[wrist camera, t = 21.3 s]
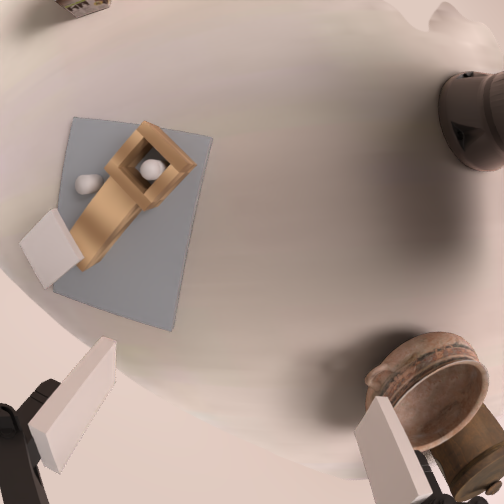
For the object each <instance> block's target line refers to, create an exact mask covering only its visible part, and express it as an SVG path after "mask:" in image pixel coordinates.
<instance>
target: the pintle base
mask: <svg viewBox="0 0 504 504" xmlns="http://www.w3.org/2000/svg"><path fill="white" fill-rule="evenodd" d="M139 126H140V125H139V124H132V123H124V122H116V121H108V120H99V119H89V118H78V117H74V118H73V122H72V126H71V131H70V135H69V140H68V145H67V150H66V155H65V161H64V166H63V172H62V179H61V185H60V193H59V201H58V209H57V208H54V209H50V210H49V211H48V212H47V213H46V215H45V216H44V217H43V218H42V219H41V220H40V221H39V222H38V223H37V224H36V225H35V226H34V227H33V228H32V229H31V230H30V231H29V232H28V233H27V234H26V236H25V237H24V238H23V239H22V240H21V241H20V242H19V245H20V247H21V248H22V250H23V252H24V254H25V256H26V258H27V260H28V262H29V263H30V265H31V267H32V269H33V270H34V272H35V274H36V276H37V277H38V279H39V281H40V282H41V284H42V286H43V287H44V289H47V288H48V287H50V286H51V285H52V284H53V292H55V293H58V294H60V295H63V296H65V297H68V298H71V299H73V300H76V301H79V302H81V303H84V304H87V305H90V306H92V307H95V308H98V309H101V310H104V311H107V312H110V313H113V314H116V315H119V316H122V317H125V318H128V319H131V320H134V321H137V322H140V323H144V324H147V325H150V326H153V327H157V328H160V329H164V330H167V331H172V329H173V328H174V323H175V317H176V311H177V305H178V299H179V294H180V288H181V282H182V277H183V272H184V266H185V261H186V256H187V251H188V246H189V241H190V236H191V231H192V226H193V222H194V217H195V212H196V208H197V203H198V199H199V194H200V190H201V186H202V181H203V177H204V173H205V169H206V164H207V160H208V156H209V152H210V148H211V144H212V140H213V138H212V137H208V136H203V135H198V134H193V133H188V132H182V131H177V130H171V129H165V128H160V129H161V130H162V131H164V132H165V133H166V134H167V135H168V136H169V137H170V138H171V139H172V140H173V141H174V142H175V143H176V144H177V145H178V146H179V147H180V148H181V149H182V150H183V151H184V152H185V153H186V154H187V155H188V156H189V157H190V158H191V159H192V160H193V161H194V162H195V163H196V164H197V166H196V167H195V168H194V169H193V170H192V171H191V172H190V173H189V174H188V175H187V176H186V177H185V178H184V179H183V180H182V181H181V182H180V183H179V184H178V186H177V187H176V188H175V189H174V190H173V191H172V192H171V193H170V194H169V195H168V196H167V197H166V198H165V200H164V201H163V202H162V203H161V204H160V205H159V206H158V207H155V208H152V209H149V210H146V211H143V210H142V211H141V212H140V213H139V214H138V215H137V217H136V218H135V219H134V220H133V221H132V223H131V224H130V225H129V226H128V227H127V229H126V230H125V231H124V232H123V233H122V235H121V236H120V237H119V238H118V240H117V241H116V242H115V243H114V245H113V246H112V247H111V248H110V250H109V251H108V252H107V253H106V255H105V256H104V257H103V258H102V260H101V261H100V262H98V263H97V264H95V265H93V266H92V267H90V268H88V269H87V270H85V271H83V272H82V271H81V270H80V269H79V268H78V267H77V266H76V264H78V263H79V262H80V261H81V260H83V259H84V258H85V257H84V256H83V254H82V252H81V251H80V249H79V247H78V246H77V244H76V242H75V241H74V239H73V237H72V235H71V234H70V230H71V229H72V227H73V226H74V224H75V223H76V221H77V220H78V218H79V217H80V216H81V214H82V213H83V211H84V210H85V209H86V207H87V206H88V204H89V203H90V202H91V200H92V199H93V198H94V196H95V195H96V194H97V192H98V191H99V190H100V188H101V187H102V186H103V184H104V183H105V182H106V181H107V179H108V178H109V177H110V175H109V174H108V173H107V172H106V170H105V169H104V167H105V166H106V165H107V164H108V162H109V161H110V160H111V159H112V157H113V156H114V155H115V154H116V152H117V151H118V150H119V149H120V148H121V146H122V145H123V144H124V143H125V142H126V141H127V139H128V138H129V137H130V136H131V135H132V134H133V132H134V131H135V130H136V129H137V128H138V127H139ZM169 165H170V163H169V162H168V161H167V160H166V159H165V158H164V157H163V156H162V155H161V154H160V153H159V152H158V151H157V150H156V149H155V148H154V147H153V148H152V149H151V150H150V151H149V152H148V153H147V154H146V155H145V156H144V158H143V159H142V160H141V161H140V162H139V163H138V164H137V166H136V167H135V168H136V169H137V170H138V171H139V172H140V173H141V175H142V177H143V178H145V179H146V180H147V181H148V182H149V183H150V184H151V185H152V184H153V183H154V182H155V181H156V180H157V178H158V177H159V176H160V175H161V174H162V173H163V172H164V171H165V170H166V169H167V168H168V166H169Z"/></svg>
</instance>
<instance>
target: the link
mask: <svg viewBox="0 0 504 504" xmlns="http://www.w3.org/2000/svg"><path fill="white" fill-rule="evenodd" d="M153 147H154V148H155V149H156V150H157V151H158V152H159V153H160V154H161V155H162V156H163V157H164V158H165V159H166V160H167V161H168V162H169V163H170V165H169V166H168V168H167V169H166V170H165V171H164V172H163V173H162V174H161V175H160V176H159V177H158V178H157V180H156V181H155V182H154V183H153V184H152V185H151V184H150V183H149V182H148V181H147V180H146V179H145V178H143V177H142V175H141V173H140V172H139V171H138V170H137V169H136V168H135V167H136V166H137V164H138V163H139V162H140V161H141V160H142V159H143V158H144V156H145V155H146V154H147V153H148V152H149V151H150V150H151V149H152V148H153ZM196 166H197V164H196V163H195V162H194V161H193V160H192V159H191V158H190V157H189V156H188V155H187V154H186V153H185V152H184V151H183V150H182V149H181V148H180V147H179V146H178V145H177V144H176V143H175V142H174V141H173V140H172V139H171V138H170V137H169V136H168V135H167V134H166V133H165V132H164V131H162V130H161V129H160V128H159V127H158V126H156V125H153V124H151V123H149V122H147V121H143V122H142V124H141V125H140V126H139V127H138V128H137V129H136V130H135V131H134V132H133V134H132V135H131V136H130V137H129V138H128V139H127V141H126V142H125V143H124V144H123V145H122V146H121V148H120V149H119V150H118V151H117V152H116V154H115V155H114V156H113V157H112V159H111V160H110V161H109V162H108V164H107V165H106V166H105V167H104V169H105V170H106V172H107V173H108V174H109V175H110V177H109V178H108V179H107V181H106V182H105V183H104V184H103V186H102V187H101V188H100V190H99V191H98V192H97V194H96V195H95V196H94V198H93V199H92V200H91V202H90V203H89V204H88V206H87V207H86V209H85V210H84V211H83V213H82V214H81V216H80V217H79V218H78V220H77V221H76V223H75V224H74V226H73V227H72V229H71V230H70V234H71V235H72V237H73V239H74V241H75V242H76V244H77V246H78V247H79V249H80V251H81V252H82V254H83V256H84V257H85V258H84V259H83V260H81V261H80V262H79V263H78V264H76V266H77V267H78V268H79V269H80V270H81V271H82V272H83V271H85V270H87V269H88V268H90V267H92V266H93V265H95V264H97V263H98V262H100V261H101V260H102V258H103V257H104V256H105V255H106V253H107V252H108V251H109V250H110V248H111V247H112V246H113V245H114V243H115V242H116V241H117V240H118V238H119V237H120V236H121V235H122V233H123V232H124V231H125V230H126V229H127V227H128V226H129V225H130V224H131V223H132V221H133V220H134V219H135V218H136V217H137V215H138V214H139V213H140V212H141V211H142V210H143V211H146V210H149V209H152V208H155V207H158V206H159V205H160V204H161V203H162V202H163V201H164V200H165V198H166V197H167V196H168V195H169V194H170V193H171V192H172V191H173V190H174V189H175V188H176V187H177V186H178V184H179V183H180V182H181V181H182V180H183V179H184V178H185V177H186V176H187V175H188V174H189V173H190V172H191V171H192V170H193V169H194V168H195V167H196Z"/></svg>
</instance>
